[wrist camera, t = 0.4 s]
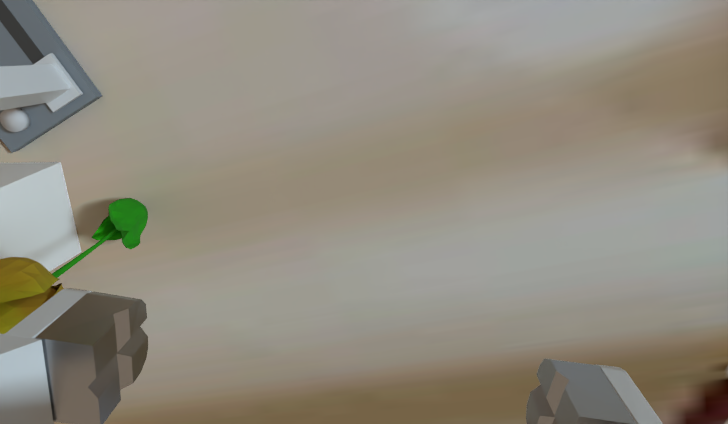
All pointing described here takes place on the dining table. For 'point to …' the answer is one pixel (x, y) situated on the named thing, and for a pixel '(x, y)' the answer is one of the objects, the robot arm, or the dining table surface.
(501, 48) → the dining table surface
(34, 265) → the flower
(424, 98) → the dining table surface
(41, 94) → the grey lever
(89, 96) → the control board
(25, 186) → the milk
